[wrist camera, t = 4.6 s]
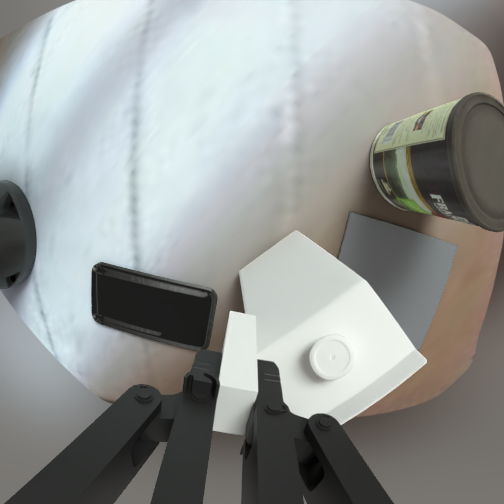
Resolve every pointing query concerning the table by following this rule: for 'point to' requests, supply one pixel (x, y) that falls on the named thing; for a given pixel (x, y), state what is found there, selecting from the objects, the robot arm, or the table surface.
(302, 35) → the table surface
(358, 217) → the mat
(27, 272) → the robot arm
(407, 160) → the coffee can
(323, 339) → the milk carton
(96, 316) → the phone
